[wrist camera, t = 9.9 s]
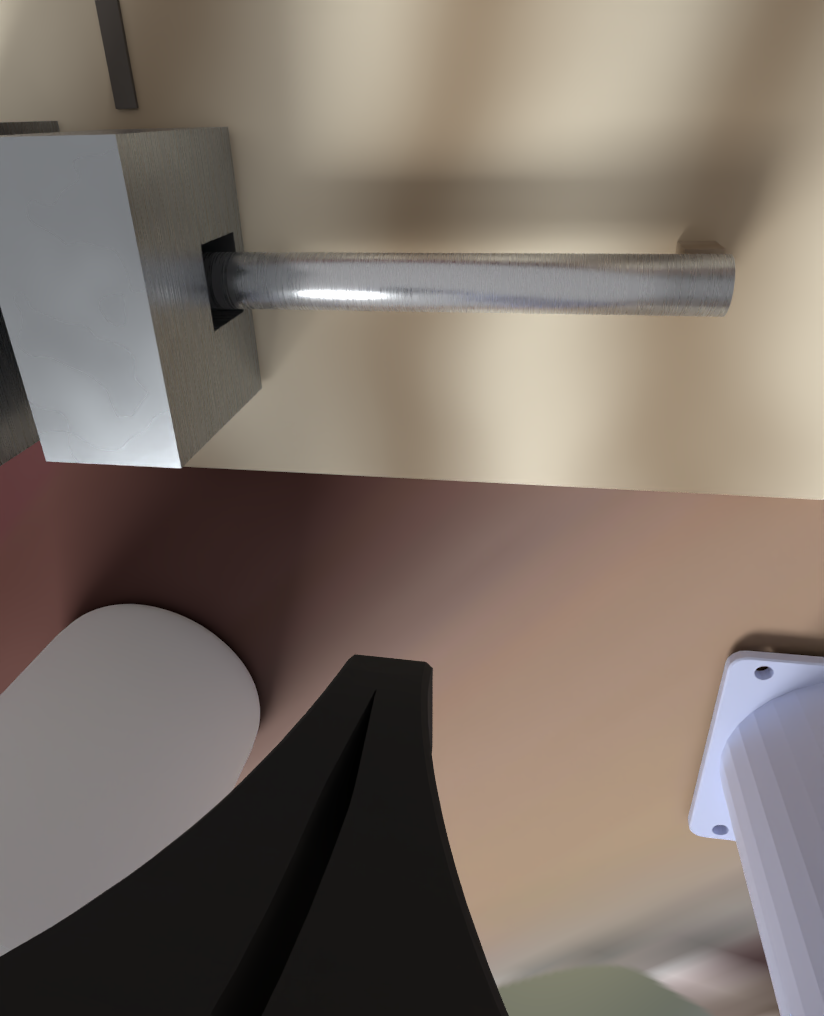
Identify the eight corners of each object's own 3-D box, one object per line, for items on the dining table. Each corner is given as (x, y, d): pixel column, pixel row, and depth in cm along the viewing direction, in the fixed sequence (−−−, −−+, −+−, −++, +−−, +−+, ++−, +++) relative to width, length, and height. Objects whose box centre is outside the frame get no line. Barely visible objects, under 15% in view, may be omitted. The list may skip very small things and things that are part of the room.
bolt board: (1069, -50, 13) (1406, -150, 8) (890, 485, 19) (1023, 632, 13) (-50, 9, 17) (-318, -34, 12) (70, 445, 22) (-76, 550, 17)
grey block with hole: (227, 126, 16) (115, 134, 12) (262, 388, 19) (180, 468, 15) (102, 129, 16) (-50, 138, 12) (154, 384, 19) (46, 461, 15)
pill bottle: (72, 560, 24) (-467, 1080, 11) (293, 652, 25) (16, 1255, 12) (45, 711, 28) (-375, 1221, 15) (236, 788, 29) (-18, 1349, 16)
